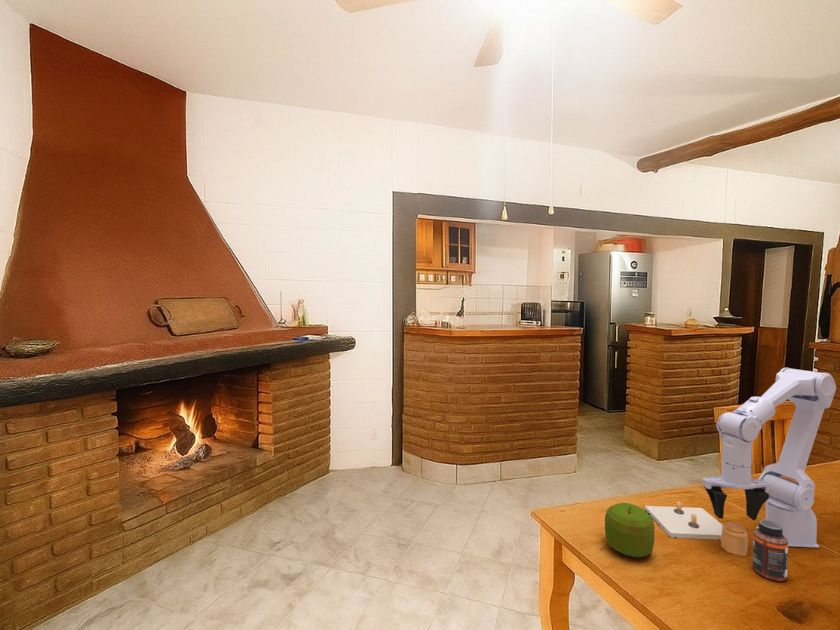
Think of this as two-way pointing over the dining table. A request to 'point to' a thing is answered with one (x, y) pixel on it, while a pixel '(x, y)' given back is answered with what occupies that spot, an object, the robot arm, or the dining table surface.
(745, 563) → the dining table surface
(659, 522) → the junction plate
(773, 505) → the robot arm
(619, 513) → the apple
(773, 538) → the supplement bottle
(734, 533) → the acorn nut
